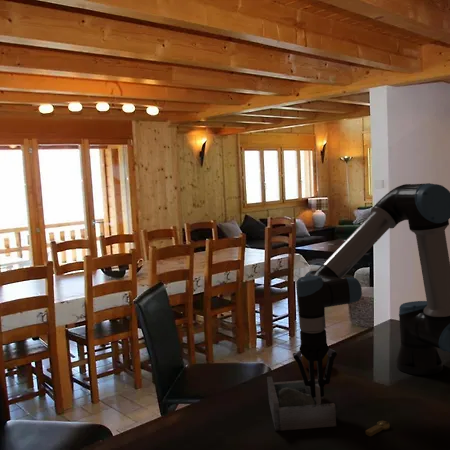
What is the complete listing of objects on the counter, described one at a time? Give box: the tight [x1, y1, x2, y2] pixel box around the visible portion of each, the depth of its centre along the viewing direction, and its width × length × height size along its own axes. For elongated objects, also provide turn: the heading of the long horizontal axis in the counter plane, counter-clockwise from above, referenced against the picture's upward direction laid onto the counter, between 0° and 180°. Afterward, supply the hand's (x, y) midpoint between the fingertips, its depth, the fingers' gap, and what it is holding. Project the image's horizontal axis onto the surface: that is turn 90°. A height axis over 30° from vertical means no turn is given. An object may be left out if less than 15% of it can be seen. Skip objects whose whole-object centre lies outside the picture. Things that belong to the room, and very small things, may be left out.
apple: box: [301, 352, 328, 371], centre depth 185 cm, size 10×10×8 cm
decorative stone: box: [279, 387, 315, 407], centre depth 150 cm, size 13×11×10 cm
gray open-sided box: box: [266, 376, 337, 432], centre depth 151 cm, size 17×19×8 cm
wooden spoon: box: [365, 420, 390, 437], centre depth 138 cm, size 8×3×1 cm, turn 126°
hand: (318, 406), depth 151 cm, fingers closed
